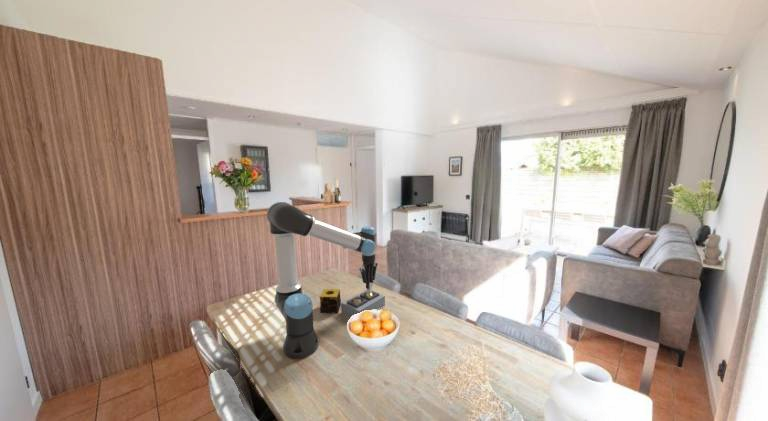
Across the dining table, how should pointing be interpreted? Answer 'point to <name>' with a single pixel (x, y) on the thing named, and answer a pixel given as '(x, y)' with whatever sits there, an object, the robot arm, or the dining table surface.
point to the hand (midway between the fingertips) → (369, 293)
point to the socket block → (362, 303)
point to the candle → (330, 301)
